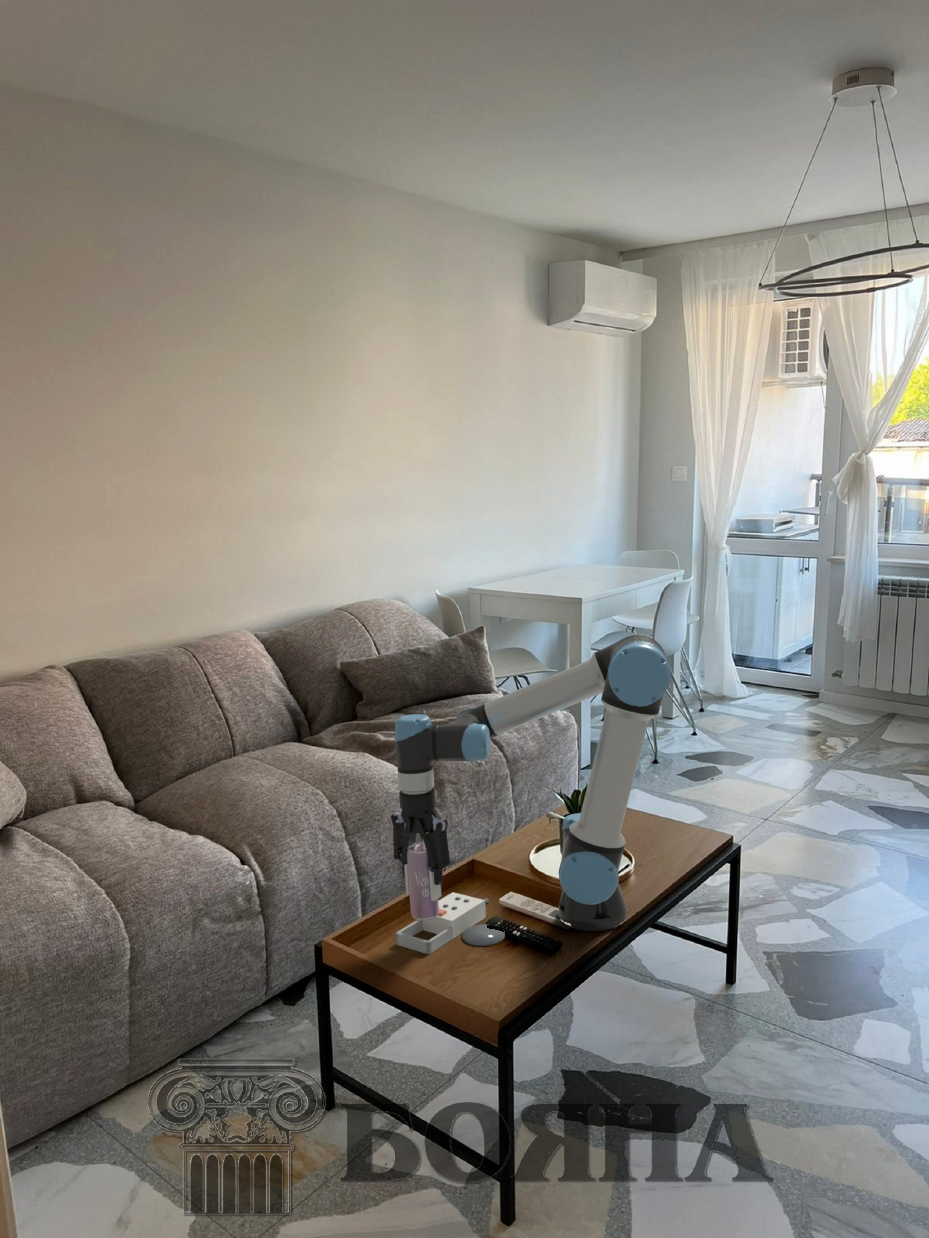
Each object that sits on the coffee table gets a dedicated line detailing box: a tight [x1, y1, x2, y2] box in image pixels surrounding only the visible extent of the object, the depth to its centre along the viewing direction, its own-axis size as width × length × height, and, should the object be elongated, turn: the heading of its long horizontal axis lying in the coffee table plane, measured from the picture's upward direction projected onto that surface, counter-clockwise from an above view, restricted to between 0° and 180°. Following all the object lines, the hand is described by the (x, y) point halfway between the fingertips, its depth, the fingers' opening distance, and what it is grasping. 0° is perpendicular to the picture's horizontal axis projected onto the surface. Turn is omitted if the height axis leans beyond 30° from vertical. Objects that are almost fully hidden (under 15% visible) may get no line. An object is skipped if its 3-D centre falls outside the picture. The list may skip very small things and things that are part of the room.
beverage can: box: [407, 841, 439, 920], centre depth 199 cm, size 6×6×15 cm
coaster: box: [462, 923, 506, 947], centre depth 201 cm, size 9×9×1 cm
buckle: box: [394, 891, 490, 955], centre depth 207 cm, size 28×9×5 cm, turn 144°
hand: (423, 895), depth 199 cm, fingers closed on beverage can, 6 cm apart
